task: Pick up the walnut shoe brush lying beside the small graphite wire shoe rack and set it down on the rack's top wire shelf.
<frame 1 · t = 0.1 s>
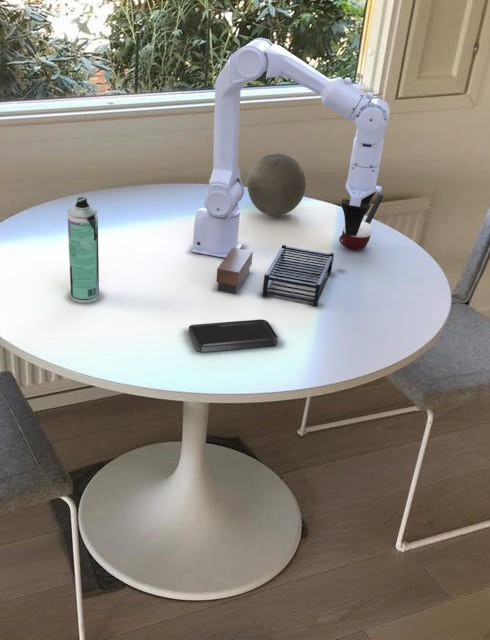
hand: (353, 228, 158), 10 cm above the table, tool pointing down, fingers open, 7 cm apart
shoe brush: (233, 281, 158), on the table
cantaloupe: (272, 216, 189), on the table
phone: (232, 338, 138), on the table
spray can: (85, 297, 150), on the table
shoe rack: (297, 284, 157), on the table
cocoa: (355, 248, 175), on the table
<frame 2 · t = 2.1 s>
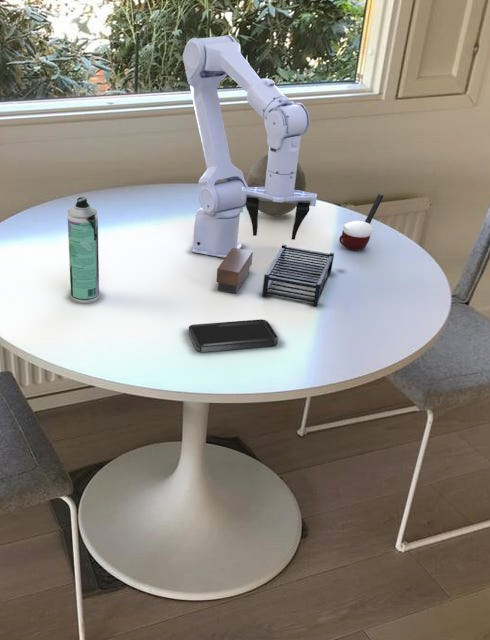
hand: (274, 235, 154), 10 cm above the table, tool pointing down, fingers open, 7 cm apart
nothing on the table moved.
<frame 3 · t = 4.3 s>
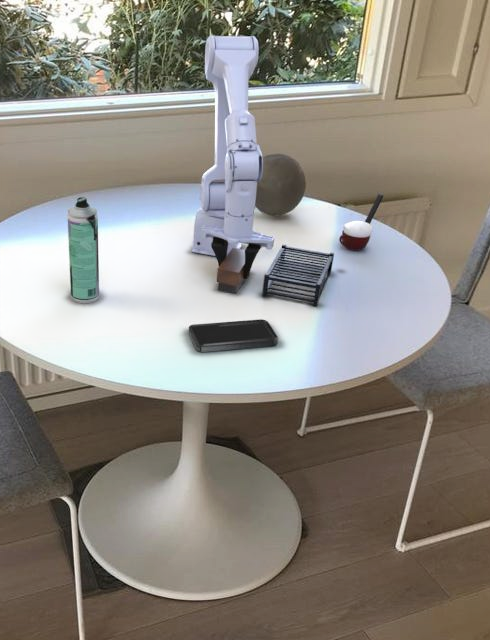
hand: (234, 274, 157), 2 cm above the table, tool pointing down, fingers closed on shoe brush, 4 cm apart
shoe brush: (233, 281, 158), on the table, touching gripper
everything else where it was.
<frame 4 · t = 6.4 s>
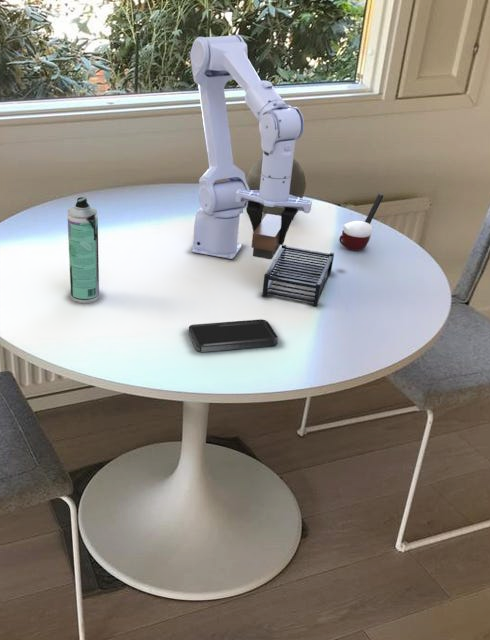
hand: (269, 240, 152), 9 cm above the table, tool pointing down, fingers closed on shoe brush, 4 cm apart
shoe brush: (268, 248, 153), point 8 cm above the table, touching gripper
everything else where it was.
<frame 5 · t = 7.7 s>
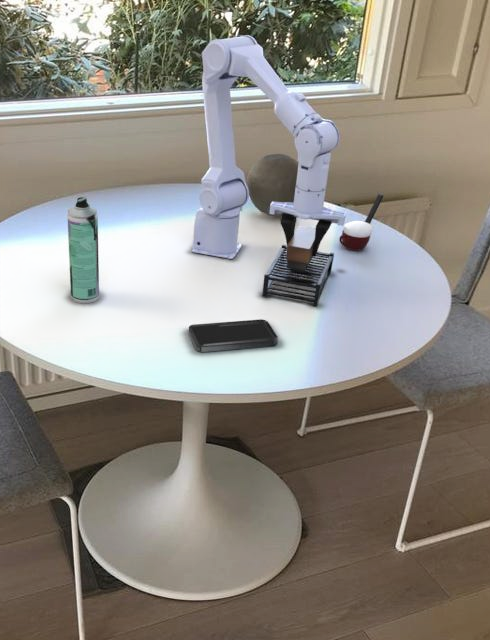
hand: (301, 252, 154), 7 cm above the table, tool pointing down, fingers closed on shoe brush, 4 cm apart
shoe brush: (301, 259, 154), point 6 cm above the table, touching gripper
everything else where it was.
when the fingers open (6 cm above the table, at t = 8.6 s): shoe brush stays where it is, resting on shoe rack.
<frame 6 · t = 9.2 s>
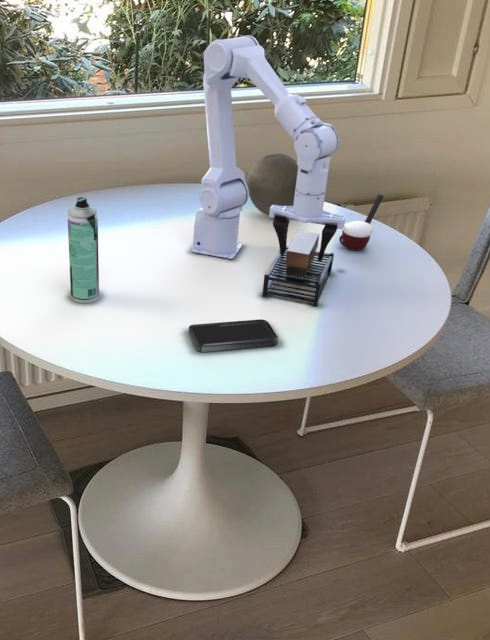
hand: (301, 255, 154), 7 cm above the table, tool pointing down, fingers open, 7 cm apart
shoe brush: (300, 265, 155), point 4 cm above the table, touching shoe rack
everything else where it was.
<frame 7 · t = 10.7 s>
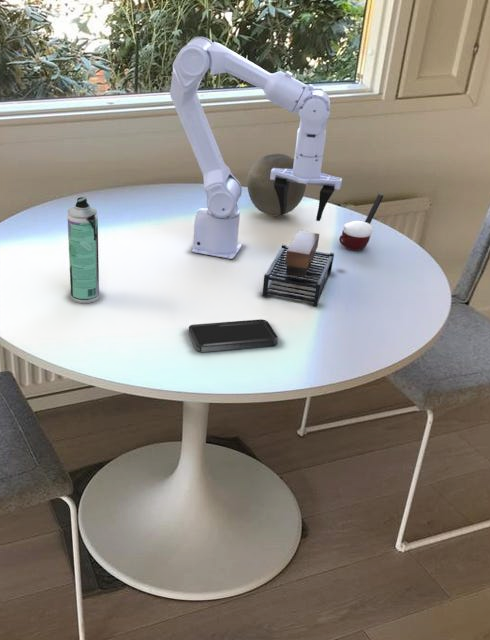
hand: (300, 216, 163), 10 cm above the table, tool pointing down, fingers open, 7 cm apart
nothing on the table moved.
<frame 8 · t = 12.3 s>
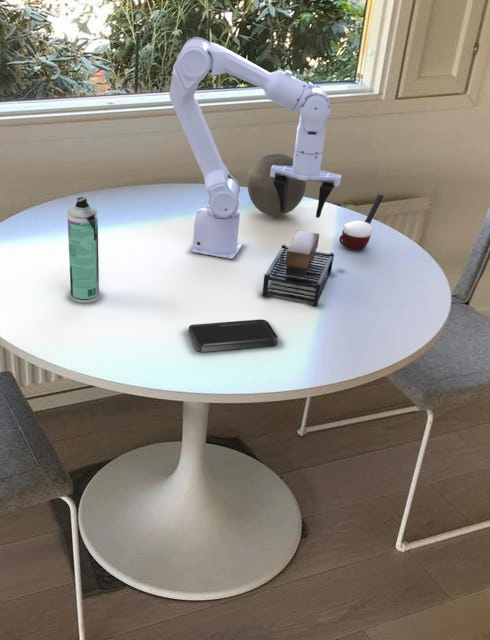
hand: (300, 213, 164), 10 cm above the table, tool pointing down, fingers open, 7 cm apart
nothing on the table moved.
at the end: shoe brush inside the target area on the shoe rack (0.1 cm from its centre), point 4.5 cm above the shoe rack's base; shoe brush tilted 0°; the gripper is holding nothing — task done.
